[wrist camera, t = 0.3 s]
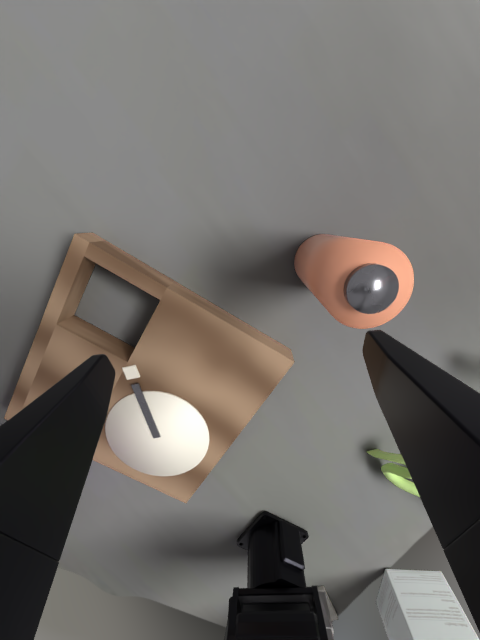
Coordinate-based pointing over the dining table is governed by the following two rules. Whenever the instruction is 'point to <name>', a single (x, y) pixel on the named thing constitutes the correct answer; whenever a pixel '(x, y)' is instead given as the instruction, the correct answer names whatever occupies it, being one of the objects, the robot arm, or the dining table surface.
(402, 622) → the supplement box
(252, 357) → the dial board
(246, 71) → the dining table surface
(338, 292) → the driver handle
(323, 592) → the skyscraper
